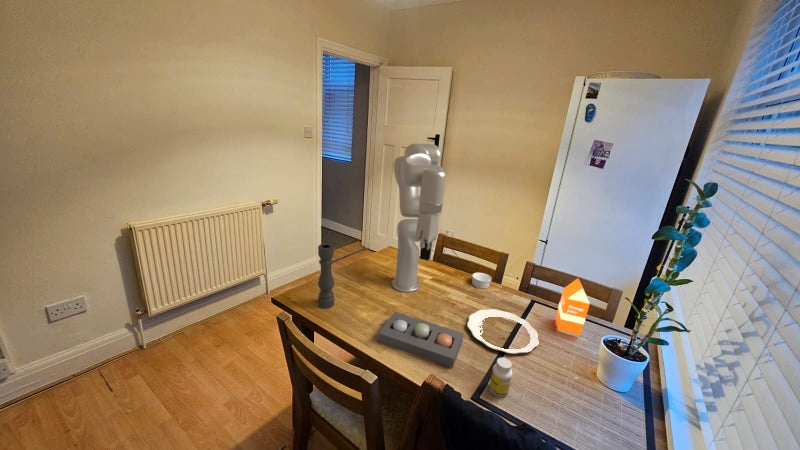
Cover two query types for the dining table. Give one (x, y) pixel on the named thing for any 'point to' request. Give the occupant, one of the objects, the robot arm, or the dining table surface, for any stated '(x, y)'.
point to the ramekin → (481, 280)
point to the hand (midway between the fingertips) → (424, 258)
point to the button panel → (421, 340)
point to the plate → (480, 315)
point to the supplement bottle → (501, 377)
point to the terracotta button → (444, 340)
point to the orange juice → (572, 308)
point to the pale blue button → (400, 326)
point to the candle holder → (326, 276)
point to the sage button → (422, 331)
